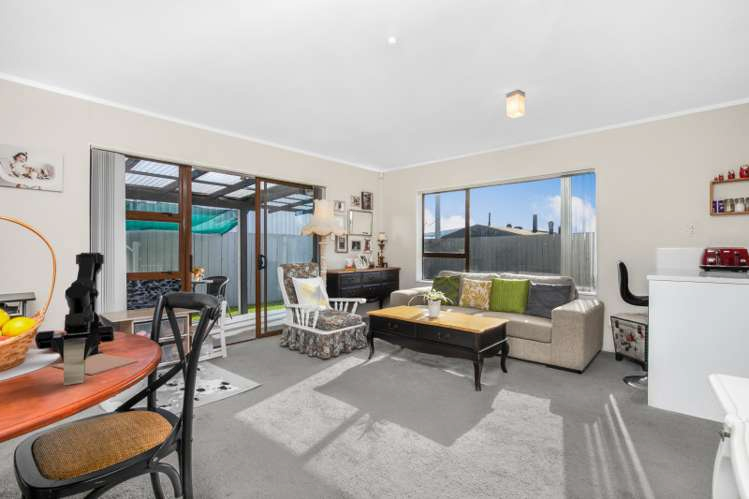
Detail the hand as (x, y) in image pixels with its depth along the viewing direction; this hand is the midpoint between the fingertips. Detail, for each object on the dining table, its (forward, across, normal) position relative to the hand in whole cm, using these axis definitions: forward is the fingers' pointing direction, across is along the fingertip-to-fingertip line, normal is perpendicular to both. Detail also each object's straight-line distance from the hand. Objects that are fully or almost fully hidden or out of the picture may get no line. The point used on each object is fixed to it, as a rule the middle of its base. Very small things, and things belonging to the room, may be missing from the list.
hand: (74, 361), depth 108 cm
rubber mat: (-8, +4, +18) cm, 20 cm away
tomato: (-29, -8, +39) cm, 49 cm away
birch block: (+4, 0, +6) cm, 7 cm away
